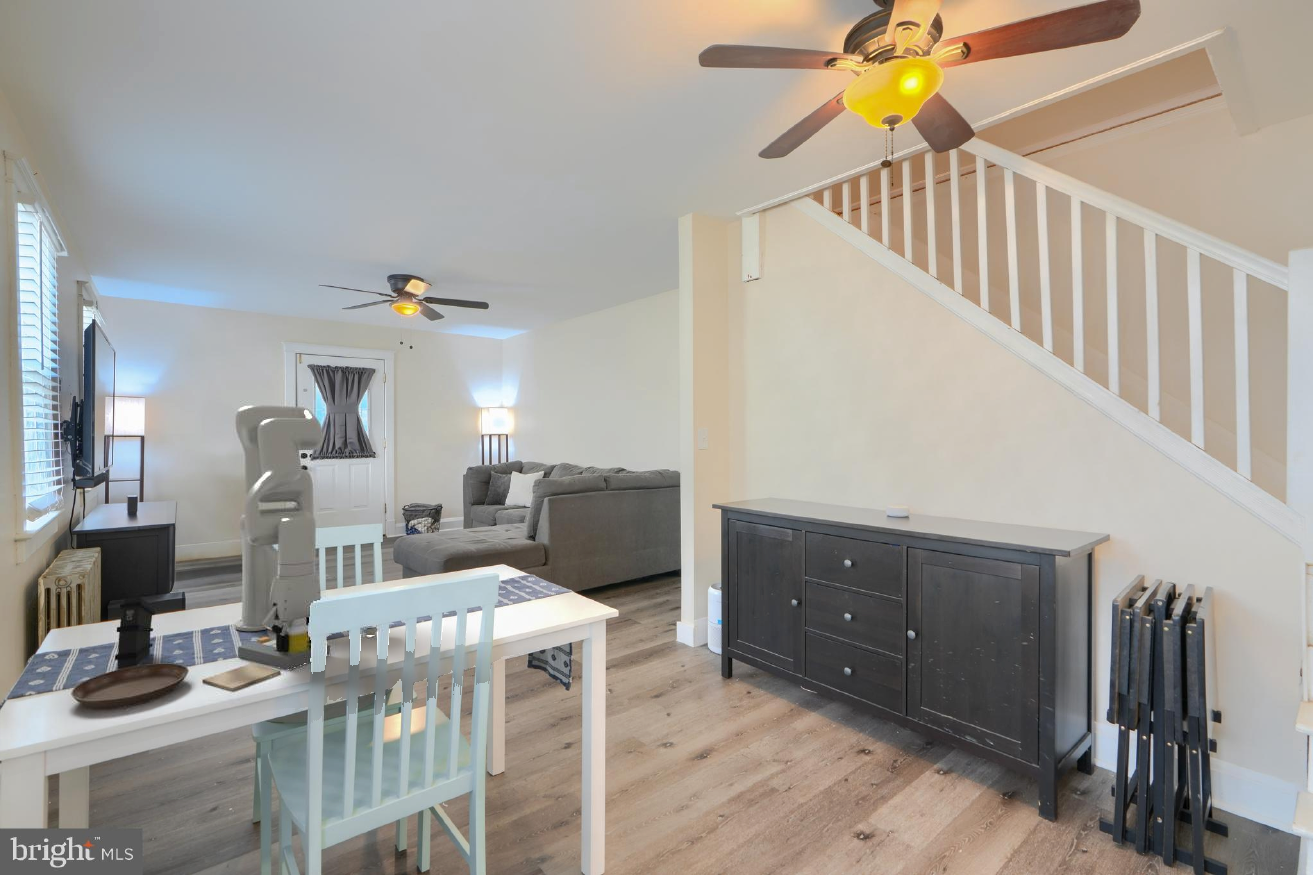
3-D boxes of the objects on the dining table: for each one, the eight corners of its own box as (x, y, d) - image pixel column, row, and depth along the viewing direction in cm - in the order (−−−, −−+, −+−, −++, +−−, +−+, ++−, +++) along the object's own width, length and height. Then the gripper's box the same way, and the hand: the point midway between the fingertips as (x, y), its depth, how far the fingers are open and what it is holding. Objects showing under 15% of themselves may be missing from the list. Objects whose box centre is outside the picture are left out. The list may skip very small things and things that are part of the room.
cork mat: (251, 665, 135) (251, 663, 135) (280, 673, 131) (280, 670, 131) (202, 682, 126) (202, 679, 126) (232, 691, 122) (232, 688, 122)
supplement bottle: (311, 659, 139) (312, 617, 139) (284, 665, 135) (285, 622, 135) (305, 653, 143) (306, 612, 143) (279, 658, 139) (280, 616, 139)
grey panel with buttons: (279, 643, 149) (280, 631, 149) (330, 655, 142) (330, 642, 142) (238, 657, 140) (238, 644, 140) (289, 670, 133) (289, 656, 133)
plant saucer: (188, 698, 119) (188, 683, 119) (63, 724, 108) (63, 707, 108) (188, 670, 133) (188, 656, 133) (78, 690, 122) (78, 675, 122)
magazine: (109, 669, 128) (120, 598, 134) (128, 675, 139) (138, 609, 144) (132, 666, 130) (142, 596, 135) (149, 672, 140) (158, 608, 146)
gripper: (319, 560, 149) (318, 633, 149) (248, 575, 133) (247, 656, 133) (340, 563, 146) (339, 638, 146) (270, 578, 130) (269, 662, 130)
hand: (295, 646), depth 139 cm, fingers open, 5 cm apart
